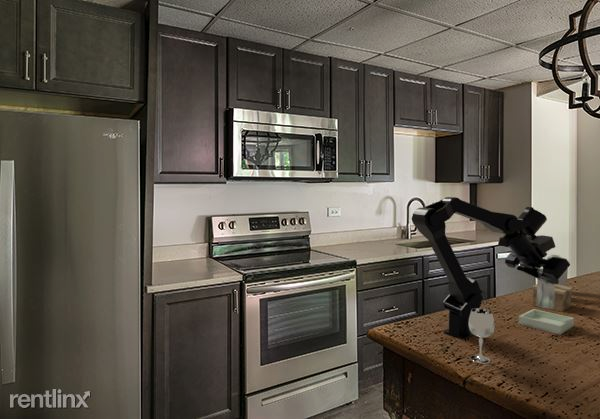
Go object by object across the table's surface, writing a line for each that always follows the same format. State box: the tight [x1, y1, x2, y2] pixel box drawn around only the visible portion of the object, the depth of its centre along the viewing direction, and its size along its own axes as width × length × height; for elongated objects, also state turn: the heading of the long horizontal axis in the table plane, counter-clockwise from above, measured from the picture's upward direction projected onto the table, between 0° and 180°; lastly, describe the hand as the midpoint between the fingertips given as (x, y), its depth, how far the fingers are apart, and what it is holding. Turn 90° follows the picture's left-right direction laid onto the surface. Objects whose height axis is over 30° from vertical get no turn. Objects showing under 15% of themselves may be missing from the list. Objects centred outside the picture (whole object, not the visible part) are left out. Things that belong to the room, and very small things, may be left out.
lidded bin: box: [531, 284, 574, 312], centre depth 138 cm, size 10×10×8 cm
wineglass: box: [468, 307, 496, 365], centre depth 95 cm, size 6×6×12 cm
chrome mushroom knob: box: [536, 268, 555, 309], centre depth 119 cm, size 5×5×11 cm
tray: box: [518, 308, 575, 336], centre depth 119 cm, size 11×11×2 cm
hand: (549, 281), depth 119 cm, fingers closed on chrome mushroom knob, 5 cm apart
